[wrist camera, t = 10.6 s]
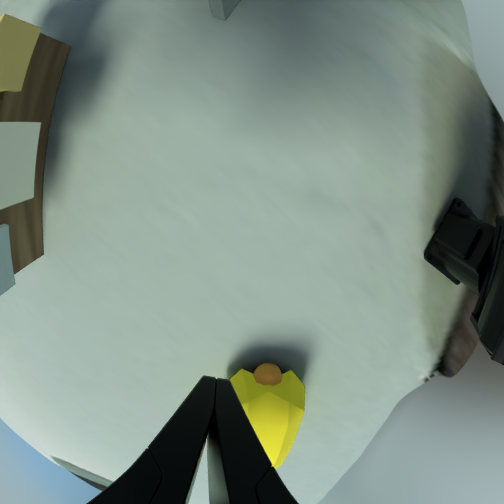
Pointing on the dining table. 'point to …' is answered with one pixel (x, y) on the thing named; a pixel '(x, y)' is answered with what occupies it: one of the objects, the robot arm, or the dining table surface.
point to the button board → (38, 110)
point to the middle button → (17, 161)
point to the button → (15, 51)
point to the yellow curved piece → (272, 407)
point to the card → (222, 8)
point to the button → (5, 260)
